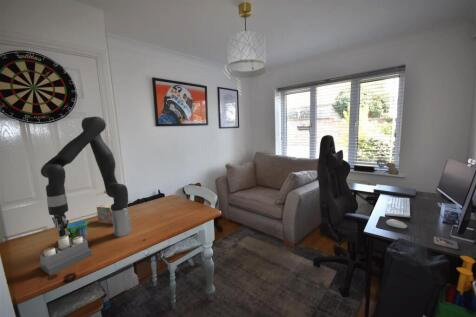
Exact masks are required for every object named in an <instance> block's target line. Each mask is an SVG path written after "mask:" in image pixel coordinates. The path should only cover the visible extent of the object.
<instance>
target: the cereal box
mask: <svg viewBox="0 0 476 317" xmlns="http://www.w3.org/2000/svg"><path fill="white" fill-rule="evenodd" d="M112 204H113V203H111V204H109V203H103V204H99V205H97V206H96V213H97V214H96V215H97V219H98V223H103V224H112V225H113V221H112V213H111V205H112Z"/></svg>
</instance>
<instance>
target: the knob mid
mask: <svg viewBox="0 0 476 317" xmlns="http://www.w3.org/2000/svg"><path fill="white" fill-rule="evenodd" d="M57 241H58V248H59V249H60V251H63V250H65V249H68V248H70V243H69V241H70V239H69V237H68V236H63V237H60V236H59V237H58V238H57Z"/></svg>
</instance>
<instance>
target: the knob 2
mask: <svg viewBox="0 0 476 317" xmlns="http://www.w3.org/2000/svg"><path fill="white" fill-rule="evenodd" d="M82 242H83V237H81V236H80V237H76V238H74V239H73V245H77V244H79V243H82Z"/></svg>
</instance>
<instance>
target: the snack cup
mask: <svg viewBox="0 0 476 317" xmlns="http://www.w3.org/2000/svg"><path fill="white" fill-rule="evenodd" d="M87 226H88V221H87V220H78V221H73V222H71V223H68V226H67V228H66V229H65V230H66V232H70V233H72V236H71V242H73V239H74V238H76V237H80V236H81V237H83V239H85V240H86V238H87V234H88V233H87V232H88V230H87V229H88V227H87Z"/></svg>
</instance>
